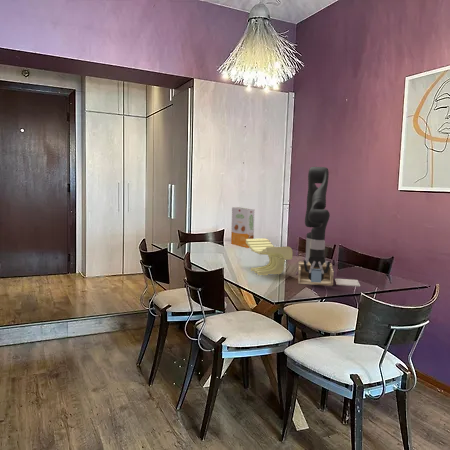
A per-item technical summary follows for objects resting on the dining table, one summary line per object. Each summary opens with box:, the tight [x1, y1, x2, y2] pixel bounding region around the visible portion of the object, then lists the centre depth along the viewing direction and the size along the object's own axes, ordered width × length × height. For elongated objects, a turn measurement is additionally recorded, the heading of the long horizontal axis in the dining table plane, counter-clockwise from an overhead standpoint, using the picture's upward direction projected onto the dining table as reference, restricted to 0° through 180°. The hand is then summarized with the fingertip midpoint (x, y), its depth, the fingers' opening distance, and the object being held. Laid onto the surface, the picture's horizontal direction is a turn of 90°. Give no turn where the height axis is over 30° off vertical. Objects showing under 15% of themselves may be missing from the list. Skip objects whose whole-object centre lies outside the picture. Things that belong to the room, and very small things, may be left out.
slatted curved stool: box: [246, 237, 293, 276], centre depth 247 cm, size 30×16×18 cm, turn 19°
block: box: [311, 269, 322, 283], centre depth 219 cm, size 5×5×6 cm
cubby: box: [297, 261, 335, 287], centre depth 230 cm, size 18×18×8 cm
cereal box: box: [230, 206, 255, 249], centre depth 338 cm, size 22×6×30 cm, turn 32°
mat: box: [334, 278, 361, 287], centre depth 227 cm, size 12×12×1 cm
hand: (315, 280), depth 219 cm, fingers closed on block, 5 cm apart
